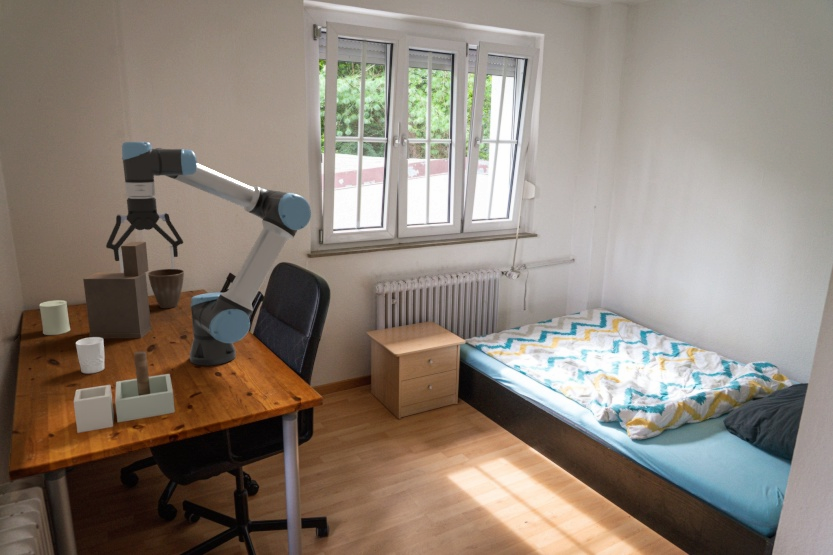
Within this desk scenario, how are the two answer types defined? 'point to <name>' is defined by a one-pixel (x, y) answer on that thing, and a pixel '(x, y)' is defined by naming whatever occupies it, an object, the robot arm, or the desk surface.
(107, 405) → the pen pot
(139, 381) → the dowel
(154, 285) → the plant pot
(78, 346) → the white cup
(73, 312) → the desk surface
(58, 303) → the can
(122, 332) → the two-tier brown block
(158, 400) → the bin
